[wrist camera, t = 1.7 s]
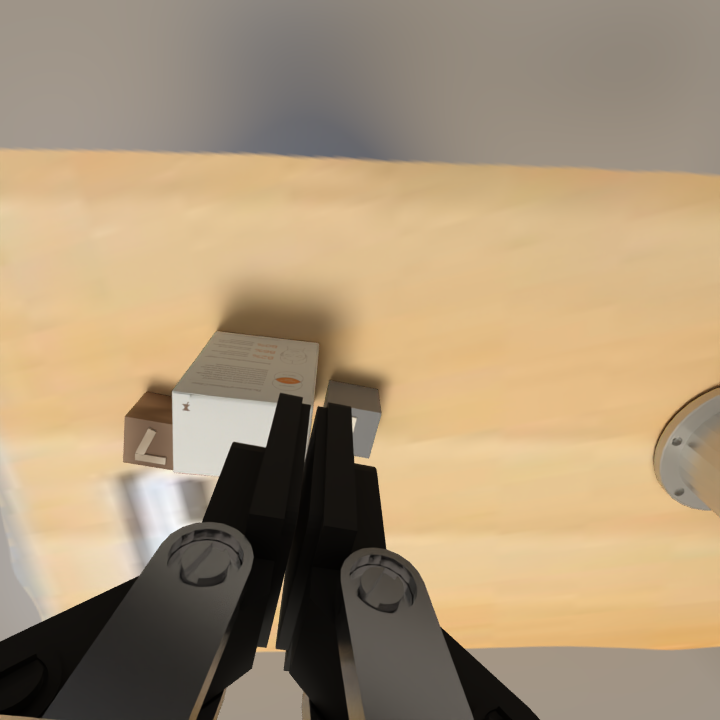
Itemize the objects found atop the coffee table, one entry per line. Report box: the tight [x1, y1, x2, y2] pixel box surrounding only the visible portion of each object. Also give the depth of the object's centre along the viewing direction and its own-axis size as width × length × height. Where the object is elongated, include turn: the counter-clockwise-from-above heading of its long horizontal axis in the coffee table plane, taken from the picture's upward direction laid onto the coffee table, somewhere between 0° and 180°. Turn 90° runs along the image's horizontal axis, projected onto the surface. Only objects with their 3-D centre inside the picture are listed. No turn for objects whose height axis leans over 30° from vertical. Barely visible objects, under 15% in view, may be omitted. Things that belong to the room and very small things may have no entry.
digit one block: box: [323, 380, 381, 458], centre depth 36 cm, size 4×4×4 cm
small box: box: [172, 331, 319, 477], centre depth 32 cm, size 8×6×10 cm
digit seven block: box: [123, 392, 173, 470], centre depth 36 cm, size 4×4×4 cm
